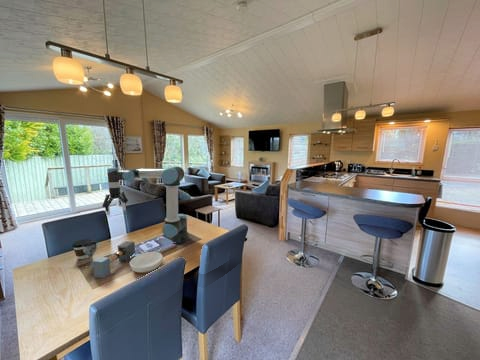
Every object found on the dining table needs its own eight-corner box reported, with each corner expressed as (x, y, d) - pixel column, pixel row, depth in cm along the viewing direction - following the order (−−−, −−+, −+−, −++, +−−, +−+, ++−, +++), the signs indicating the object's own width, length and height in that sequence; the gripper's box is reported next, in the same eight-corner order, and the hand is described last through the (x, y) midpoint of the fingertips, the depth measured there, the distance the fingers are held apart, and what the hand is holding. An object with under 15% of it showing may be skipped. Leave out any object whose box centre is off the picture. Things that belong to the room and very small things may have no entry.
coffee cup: (96, 255, 143) (94, 240, 141) (79, 263, 133) (77, 247, 131) (87, 252, 147) (86, 237, 146) (70, 259, 138) (68, 243, 136)
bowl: (132, 263, 134) (131, 255, 133) (162, 257, 141) (162, 249, 140) (128, 280, 116) (127, 270, 115) (163, 272, 124) (163, 263, 123)
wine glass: (102, 262, 134) (100, 242, 132) (90, 268, 127) (87, 247, 125) (94, 260, 137) (92, 240, 135) (81, 266, 129) (79, 245, 127)
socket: (101, 272, 124) (99, 256, 122) (110, 273, 122) (109, 257, 121) (94, 277, 119) (92, 260, 117) (103, 278, 117) (102, 262, 116)
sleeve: (127, 254, 145) (126, 241, 143) (135, 255, 144) (134, 241, 142) (118, 260, 137) (117, 246, 136) (127, 261, 136) (126, 247, 134)
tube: (127, 249, 144) (127, 244, 143) (132, 249, 143) (132, 244, 142) (106, 263, 125) (105, 257, 124) (111, 264, 124) (110, 258, 124)
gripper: (125, 184, 167) (127, 208, 170) (94, 189, 144) (97, 216, 147) (131, 184, 165) (133, 209, 168) (101, 190, 142) (104, 218, 145)
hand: (116, 212), depth 158 cm, fingers open, 13 cm apart
